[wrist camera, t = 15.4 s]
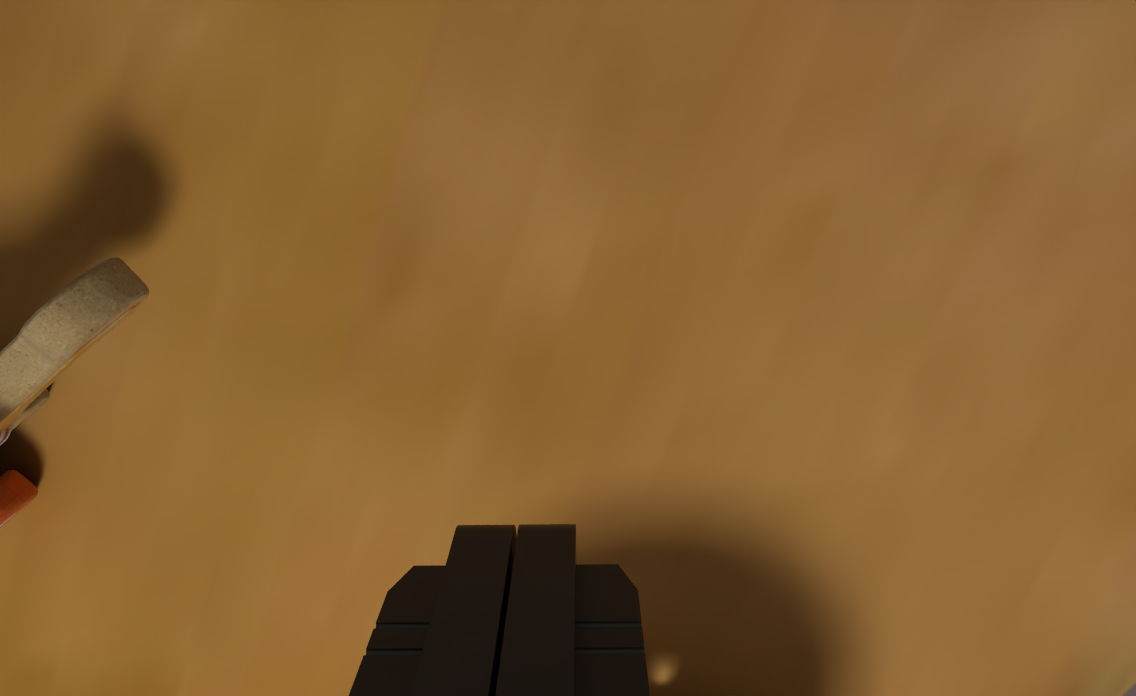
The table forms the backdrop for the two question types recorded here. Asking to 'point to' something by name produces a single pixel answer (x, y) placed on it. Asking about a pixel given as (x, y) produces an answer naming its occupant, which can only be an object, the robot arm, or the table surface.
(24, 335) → the toy helicopter
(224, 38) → the table surface
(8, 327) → the table surface
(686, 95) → the table surface
